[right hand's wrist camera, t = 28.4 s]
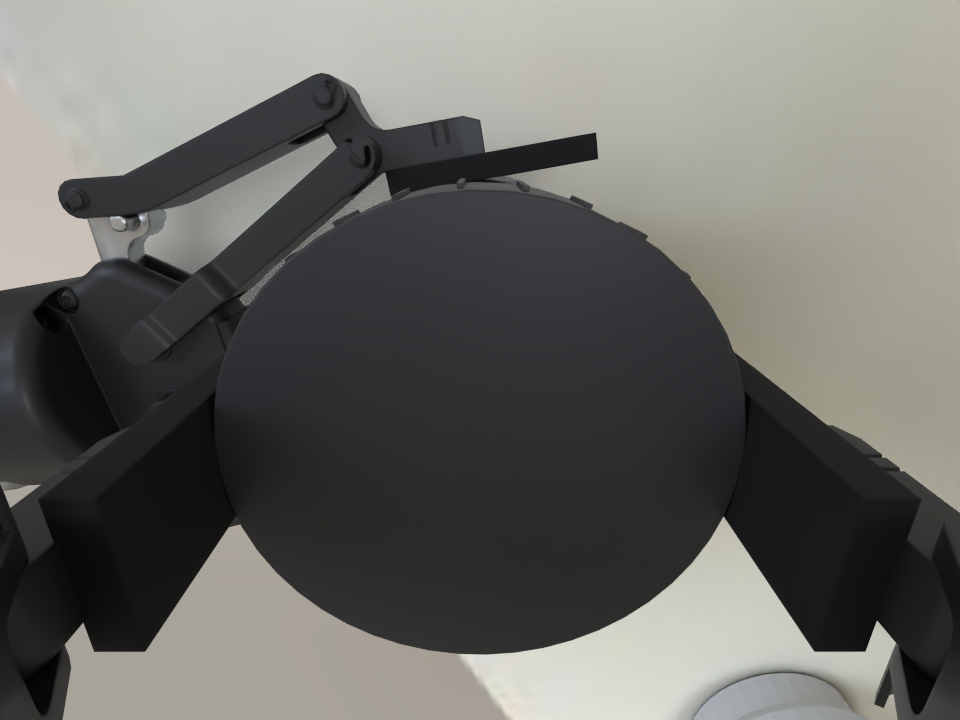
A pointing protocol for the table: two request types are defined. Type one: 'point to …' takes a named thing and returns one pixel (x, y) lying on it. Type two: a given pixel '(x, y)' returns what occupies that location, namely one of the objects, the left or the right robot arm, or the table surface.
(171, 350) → the left robot arm
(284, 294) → the lid
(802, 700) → the flag stand
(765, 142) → the table surface
